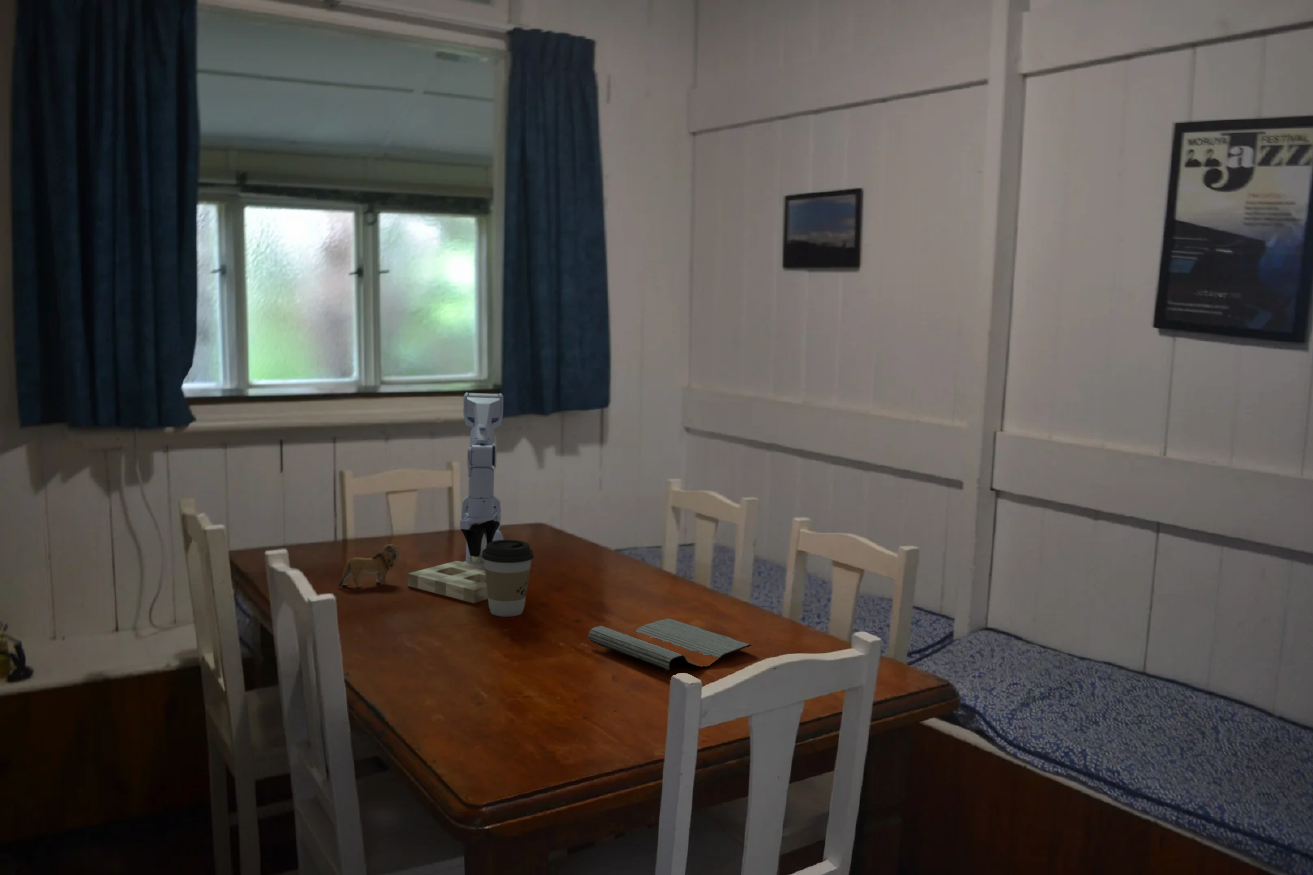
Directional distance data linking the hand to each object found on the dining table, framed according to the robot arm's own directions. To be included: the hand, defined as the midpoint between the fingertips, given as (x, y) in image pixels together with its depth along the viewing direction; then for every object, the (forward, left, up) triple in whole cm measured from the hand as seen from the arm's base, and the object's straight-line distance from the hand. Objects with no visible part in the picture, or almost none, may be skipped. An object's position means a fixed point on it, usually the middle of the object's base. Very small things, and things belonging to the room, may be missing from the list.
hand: (479, 554), depth 233 cm
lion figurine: (+12, -23, -9) cm, 28 cm away
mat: (+6, +56, -9) cm, 58 cm away
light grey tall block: (0, 0, -2) cm, 2 cm away
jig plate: (0, -5, -9) cm, 10 cm away
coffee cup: (+8, +15, -9) cm, 20 cm away
